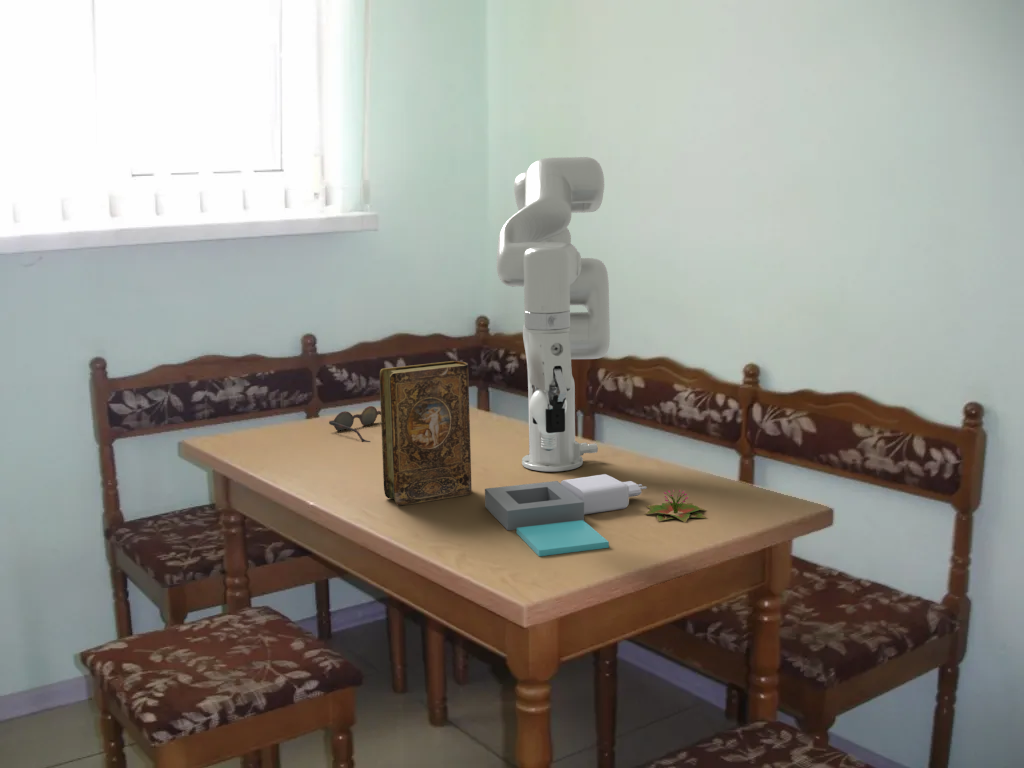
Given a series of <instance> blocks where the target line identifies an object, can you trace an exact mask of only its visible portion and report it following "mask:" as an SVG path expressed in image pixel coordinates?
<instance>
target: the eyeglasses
mask: <svg viewBox="0 0 1024 768" xmlns="http://www.w3.org/2000/svg"><path fill="white" fill-rule="evenodd" d="M378 415H380V416H381V410H378V409H377V408H376V407H375V406H372V405H371V406H367V407H366V408H364V409H363V410H362V412H361V413H360V414H357V413H356V414H354V415H353V414H352V413H351V412H349V411H341V412H339V413H338V414H337V415H336V416H335V417H334V418H333V419H332V420H329V422H328V424H329V425H330V426H333V427H334V429H335V430H336V431H337V432H340V430H341V431H345V430H344V429H347V430H349V431H351V432H354V433H355V434H357V436H358V437H359V439H360V440H361V442H363V443H371V440H367V439H364V437H363V436H362V435H361V433H360V432H359V431H358V430H357V429H355V428H352V426H353V425H354V421H355V418H357V419H359V421H360V424H361V425H362V426H364V425H365V426H367V424H369V425H372V424H371V423H373V424H374V423H375V422H376V419H377V417H378Z"/></svg>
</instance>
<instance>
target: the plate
mask: <svg viewBox="0 0 1024 768" xmlns="http://www.w3.org/2000/svg"><path fill="white" fill-rule="evenodd" d="M516 535H518V536H519V537H520V539H522V540H523V542H524V543H525V544H527V545H528V547H529V548H530V549H531V550H532V551H533V552H534V553H535V554H536V555H537V556H538V557H545V556H553V555H561V554H568V553H577V552H584V551H585V552H586V551H594V550H600V549H601V550H602V549H608V548H610V546H609V545H610V544H609V542H610V541H609V540H607V538H605V537H603V535H601V534H600V533H599V532H598V531H597V530H595V529H594V528H593V527H592V526H591V525H590V524H588V523H587V522H586V521H585V520H584V521H583V520H578V521H569V522H561V523H552V524H544V525H535V526H527V527H519V528H517V529H516Z"/></svg>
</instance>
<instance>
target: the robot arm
mask: <svg viewBox="0 0 1024 768" xmlns="http://www.w3.org/2000/svg"><path fill="white" fill-rule="evenodd" d="M604 190H605V177H604V172H603V168H602V166H601V164H600V163H599V162H598V160H596V159H595V158H592V157H588V156H571V157H567V156H566V157H563V156H562V157H544V158H540V159H537V160H536V161H534V162H532V163H531V164H530V166H528V169H527V170H526V171H524V172H521V173H519V174H518V175H516V177H515V180H514V184H513V192H514V198H515V202H516V207H517V210H518V211H517V212H516V213H514V214H513V215H512V216H511V217H510V218H509V219H507V221H505V223H504V224H503V226H502V227H501V229H500V232H499V236H498V241H497V250H496V251H497V252H496V254H497V255H496V272H497V276H498V278H499V280H500V281H501V283H502V284H504V285H505V286H508V287H512V288H513V287H515V288H516V287H517V288H519V287H521V288H522V287H523V295H524V296H523V298H524V299H523V300H524V303H523V304H524V305H523V306H524V310H523V311H524V313H523V314H524V323H523V326H522V327H523V328H522V338H523V346H524V350H525V351H524V352H525V357H526V367H527V387H528V388H527V390H528V391H527V392H528V396H527V397H528V403H529V402H530V398H531V396H532V395H533V393H534V392H535V391H536V390H538V389H540V390H542V391H544V392H545V393H546V400H547V407H548V409H546V432H547V433H557V436H556V437H557V438H556V439H557V440H556V442H557V443H556V444H557V445H556V446H557V447H556V448H555V449H553V450H552V451H546V450H544V449H543V448H541V433H540V431H539V428H538V424H537V422H536V421H535V419H534V418H533V416H532V414H531V412H530V408H529V407H528V448H529V449H528V451H529V454H526V455H524V456H523V457H522V459H521V464H522V466H523V467H524V468H526V469H529V470H533V471H539V472H550V473H551V472H555V473H556V472H564V471H565V472H566V471H571V470H572V471H573V470H575V469H578V468H579V467H581V466H582V465H583V464H584V462H583V460H584V458H583V456H584V454H597V453H598V449H599V448H598V447H599V446H598V444H597V443H588V442H581V443H580V442H578V441H577V440H576V410H575V409H576V404H575V403H576V402H575V398H576V395H575V393H576V391H575V390H576V389H575V379H574V377H573V372H572V368H573V367H572V360H596V359H597V360H598V359H601V358H604V357H605V356H606V355H607V354H608V352H609V349H610V339H611V337H610V336H611V335H610V334H611V332H610V331H611V330H610V295H609V294H610V287H609V286H610V284H609V283H610V282H609V276H608V275H609V274H608V271H607V267H606V265H605V263H604V261H602V260H600V259H598V258H592V257H582V256H581V253H580V252H579V251H578V249H577V248H576V246H574V244H572V243H571V242H572V236H571V235H572V234H571V232H570V230H569V228H568V226H569V225H570V223H571V220H572V214H573V213H576V214H577V213H593V212H597V211H598V210H599V209H600V208H601V206H602V202H603V198H604V194H605V193H604V192H605V191H604ZM571 306H582V307H585V308H586V310H587V311H584V312H583V311H580V312H579V311H578V312H577V311H575V312H574V311H571ZM552 387H555V388H556V389H557V390H550V388H552ZM555 394H556V395H555ZM551 395H554V397H553V399H552V398H551ZM565 400H567V410H566V413H565Z"/></svg>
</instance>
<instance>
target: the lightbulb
mask: <svg viewBox="0 0 1024 768" xmlns="http://www.w3.org/2000/svg"><path fill="white" fill-rule="evenodd" d="M550 390H557V389H556V388H555V387H552V388H550ZM555 395H556V394H555ZM553 397H554V395H551V398H552V399H553ZM529 408H530V412H531V414H532V416H533V418H534V419H535V421H536V422H537V424H538V428H539V431H540V433H541V448H543V449H544V450H546V451H552V450H553V449H555V448H556V447H557V446H556V445H557V444H556V443H557V442H556V440H557V439H556V438H557V437H556V436H557V433H547V432H546V409H548V407H547V400H546V393H545V392H544V391H542V390H540V389H538V390H536V391H535V392H534V393H533V395H532V396H531V398H530V402H529V401H528V409H529ZM566 410H567V400H565V413H566Z"/></svg>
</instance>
